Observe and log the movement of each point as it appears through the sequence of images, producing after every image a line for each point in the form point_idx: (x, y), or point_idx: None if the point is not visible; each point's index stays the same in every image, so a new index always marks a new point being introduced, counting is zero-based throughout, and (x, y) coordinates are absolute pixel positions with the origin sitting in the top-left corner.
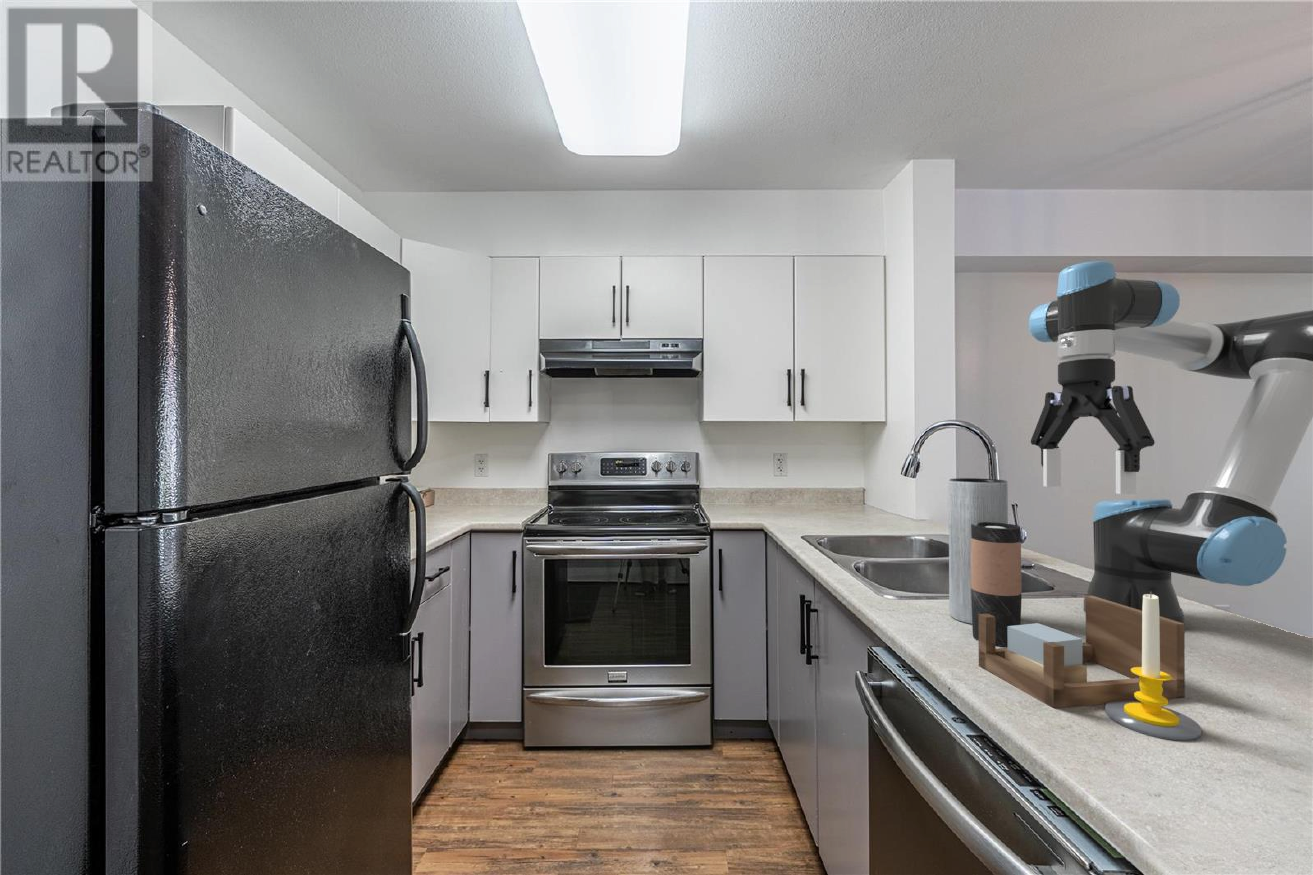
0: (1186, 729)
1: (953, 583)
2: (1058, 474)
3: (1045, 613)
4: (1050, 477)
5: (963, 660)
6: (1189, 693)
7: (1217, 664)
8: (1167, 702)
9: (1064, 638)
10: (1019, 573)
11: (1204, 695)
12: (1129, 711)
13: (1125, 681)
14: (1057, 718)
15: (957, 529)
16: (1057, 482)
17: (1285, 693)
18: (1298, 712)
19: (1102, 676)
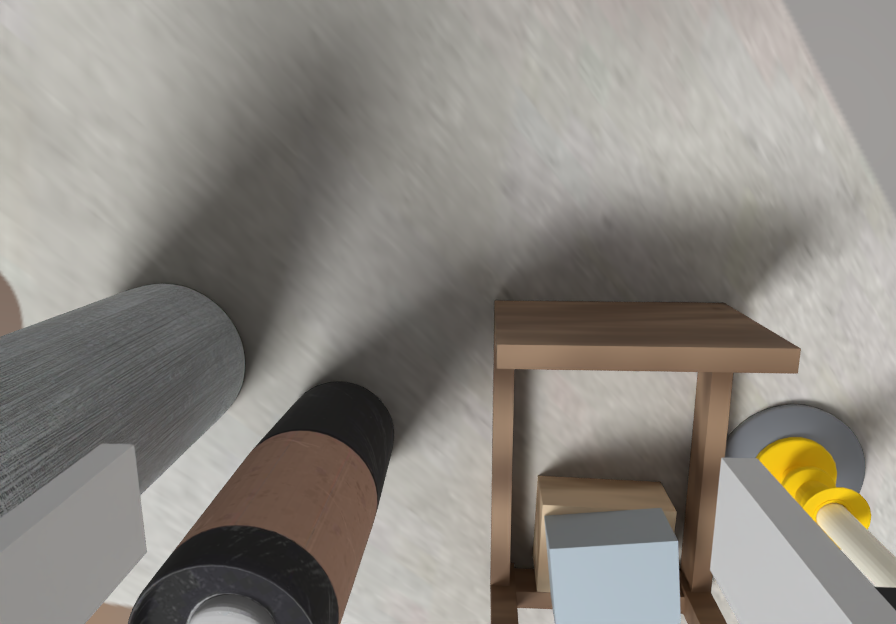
0: (847, 461)
1: None
2: (82, 510)
3: (132, 109)
4: (105, 565)
5: (455, 591)
6: (709, 269)
7: (589, 6)
8: (834, 482)
9: (665, 578)
10: (353, 503)
11: (725, 247)
12: None
13: (716, 450)
14: (730, 612)
15: None
16: (121, 484)
17: (766, 41)
18: (842, 133)
19: (592, 373)
